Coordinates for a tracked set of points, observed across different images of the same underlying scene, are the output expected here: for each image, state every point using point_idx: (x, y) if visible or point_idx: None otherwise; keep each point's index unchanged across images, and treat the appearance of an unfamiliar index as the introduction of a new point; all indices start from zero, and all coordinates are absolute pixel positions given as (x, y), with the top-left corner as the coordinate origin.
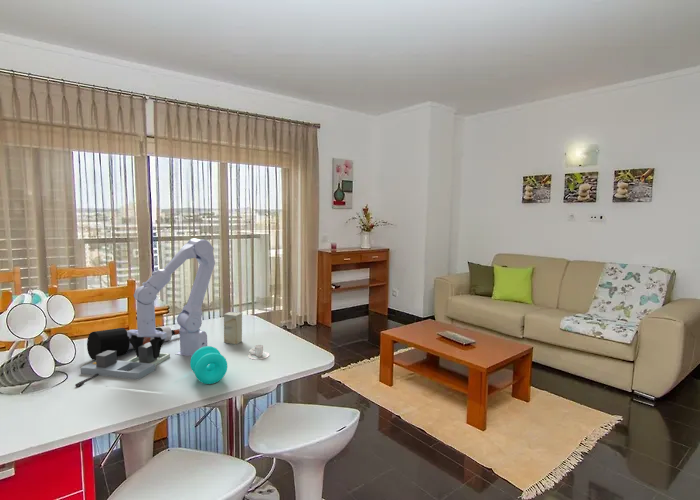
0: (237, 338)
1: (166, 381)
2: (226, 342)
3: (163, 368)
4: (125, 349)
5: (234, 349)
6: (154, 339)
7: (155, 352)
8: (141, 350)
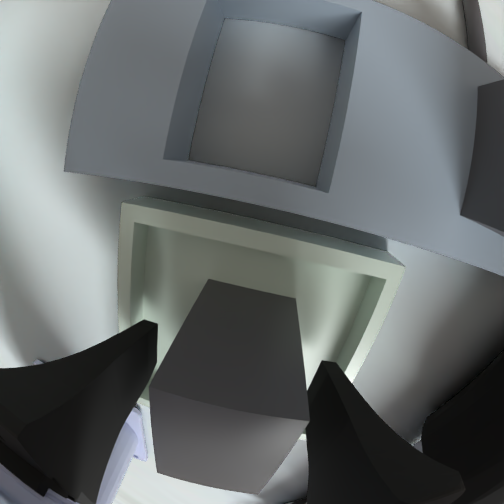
0: None
1: (21, 60)
2: None
3: (77, 219)
4: (437, 428)
5: None
6: (19, 453)
7: (104, 344)
8: (255, 376)
